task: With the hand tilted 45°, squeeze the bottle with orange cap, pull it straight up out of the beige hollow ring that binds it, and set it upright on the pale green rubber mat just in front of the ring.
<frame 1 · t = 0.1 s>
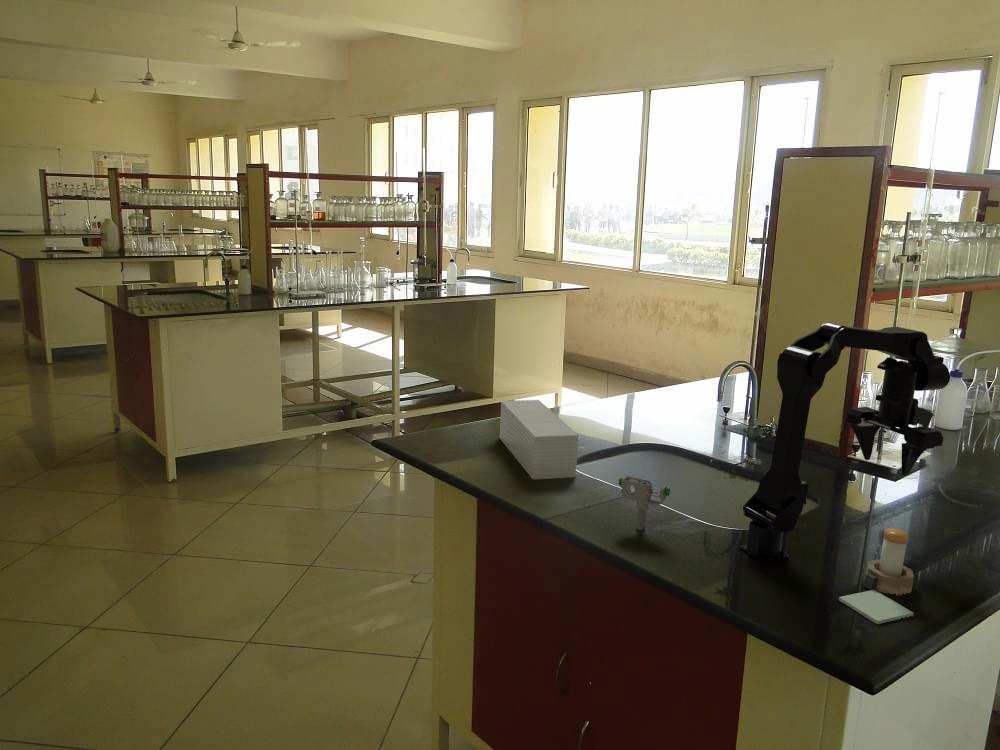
hand: (885, 467, 156), 15 cm above the counter, tool pointing down, fingers open, 9 cm apart
mechanical component: (640, 529, 157), on the counter
bottle with orange cap: (892, 558, 137), in the beige hollow ring
stack of papers: (534, 457, 199), on the counter
mat: (875, 608, 130), on the counter
beige hollow ring: (887, 584, 138), on the counter
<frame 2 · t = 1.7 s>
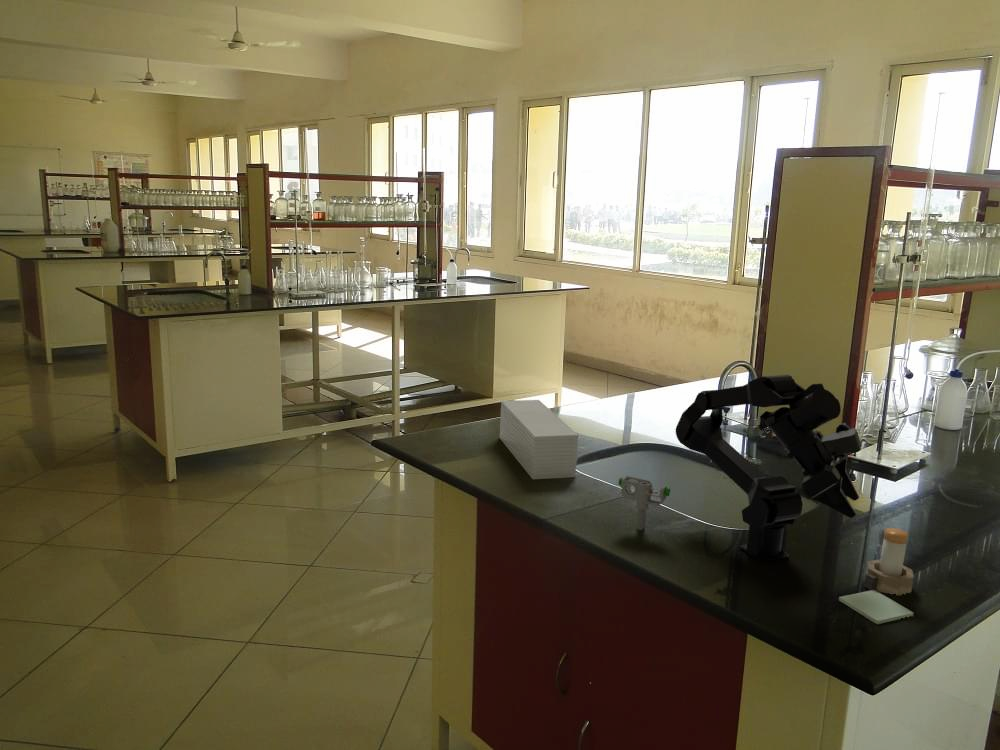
hand: (855, 507, 138), 13 cm above the counter, tool tilted 45°, fingers open, 9 cm apart
nothing on the counter moved.
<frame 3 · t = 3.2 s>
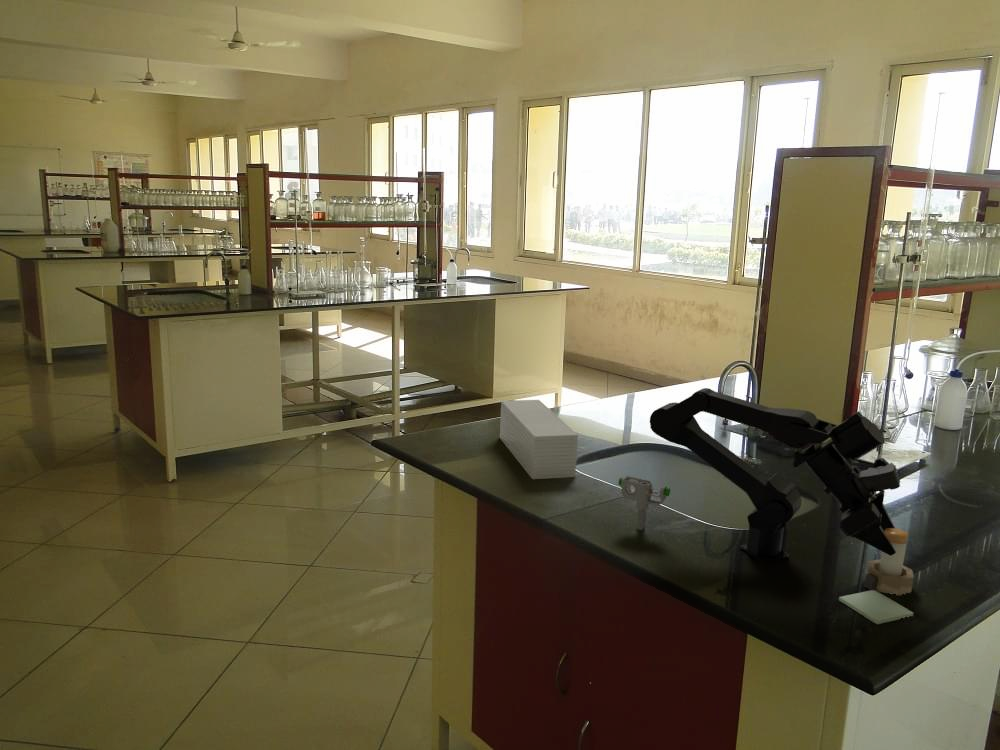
hand: (894, 544, 136), 8 cm above the counter, tool tilted 45°, fingers open, 9 cm apart
nothing on the counter moved.
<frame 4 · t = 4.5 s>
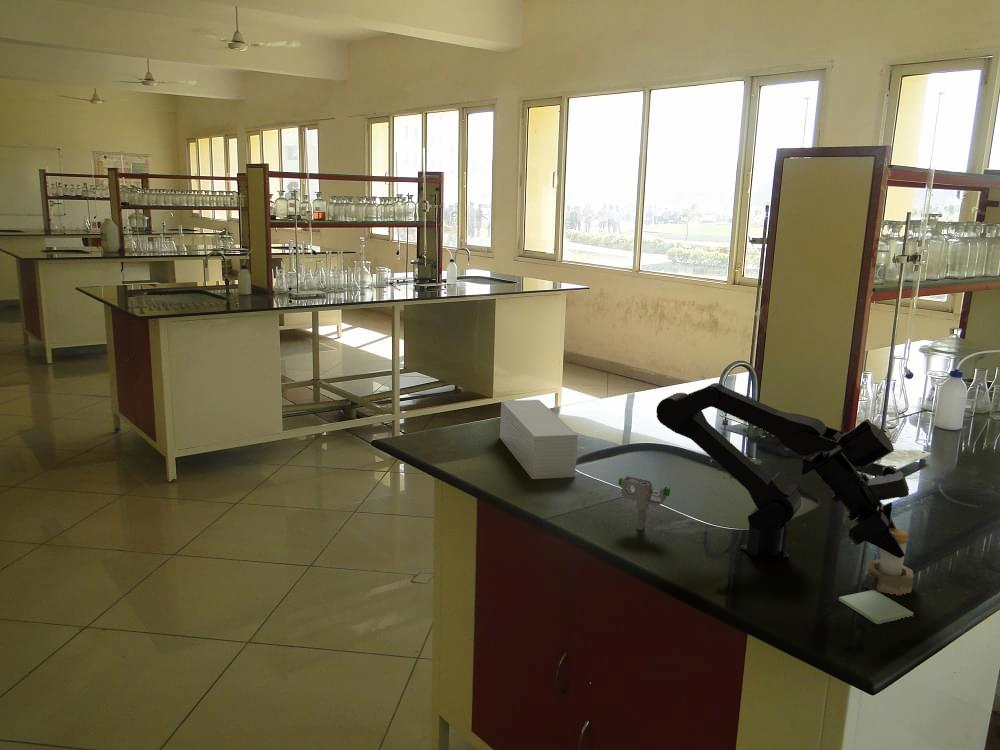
hand: (902, 552, 136), 7 cm above the counter, tool tilted 45°, fingers closed on bottle with orange cap, 4 cm apart
bottle with orange cap: (892, 558, 137), in the beige hollow ring, touching gripper
everything else where it was.
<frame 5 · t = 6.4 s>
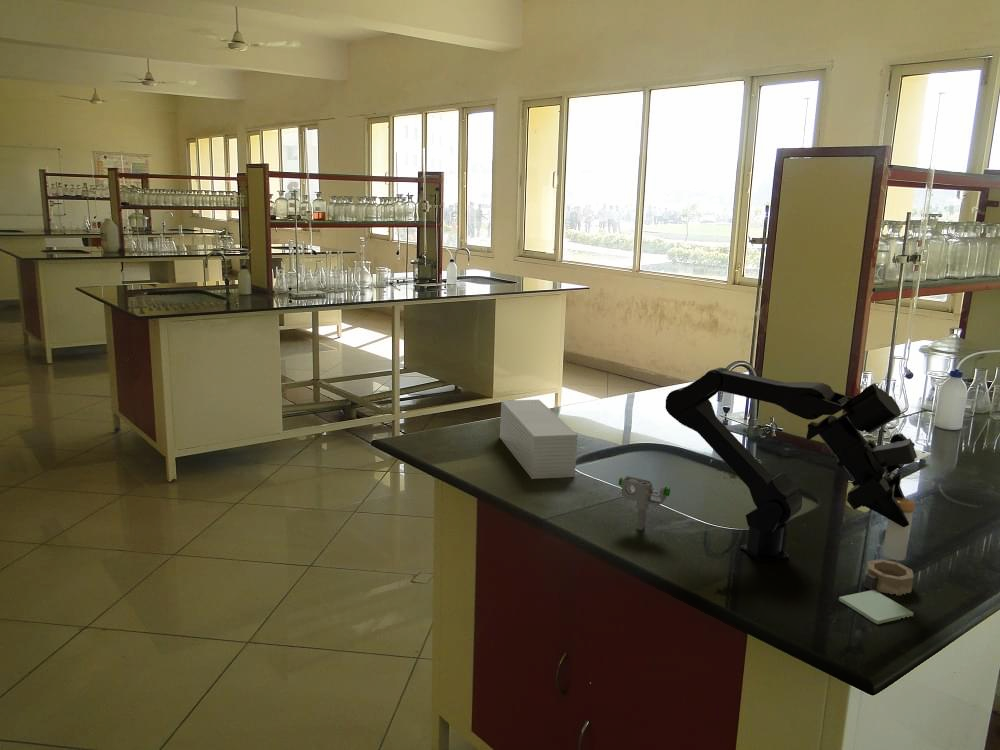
hand: (908, 522, 132), 13 cm above the counter, tool tilted 45°, fingers closed on bottle with orange cap, 4 cm apart
bottle with orange cap: (898, 528, 133), point 12 cm above the counter, touching gripper
everything else where it was.
when the fingers open (8 cm above the counter, at t = 8.4 s): bottle with orange cap drops 1 cm, resting on mat.
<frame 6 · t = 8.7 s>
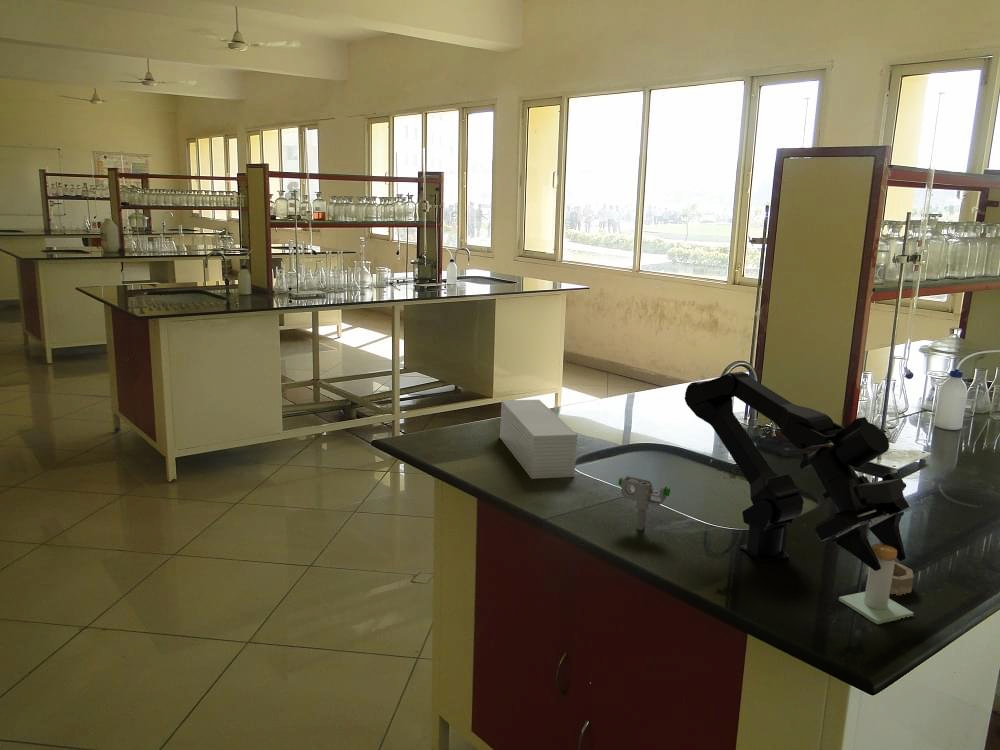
hand: (891, 565, 127), 8 cm above the counter, tool tilted 45°, fingers open, 7 cm apart
bottle with orange cap: (880, 576, 129), on the mat, point 6 cm above the counter
everything else where it was.
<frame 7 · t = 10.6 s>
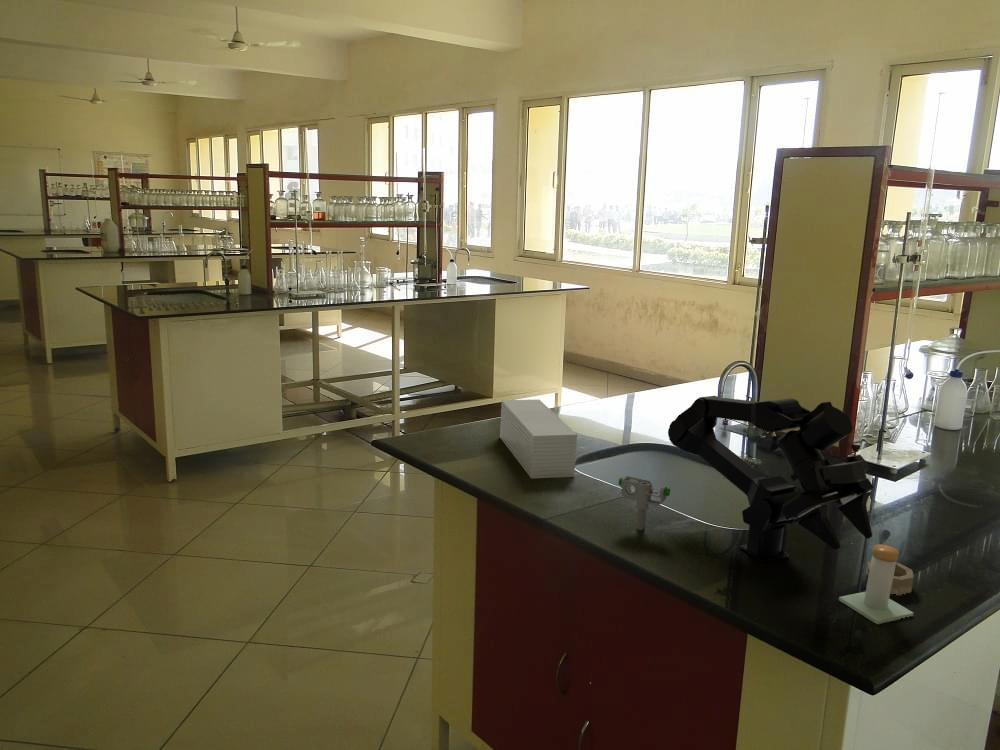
hand: (854, 543, 132), 9 cm above the counter, tool tilted 45°, fingers open, 9 cm apart
nothing on the counter moved.
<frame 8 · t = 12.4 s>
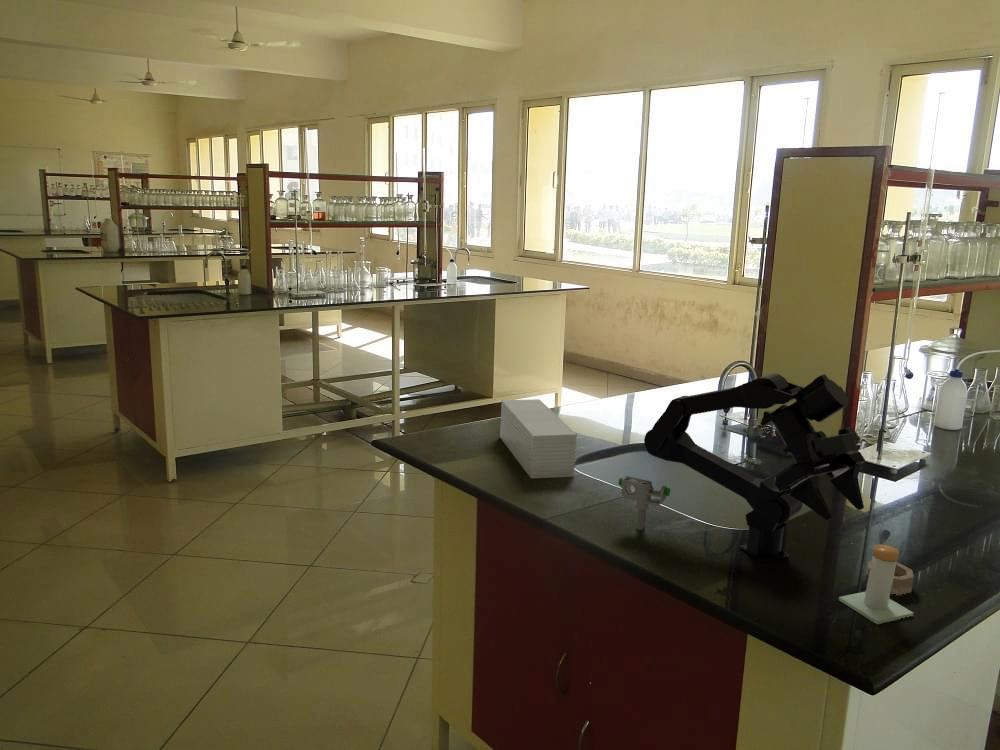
hand: (845, 514, 134), 14 cm above the counter, tool tilted 45°, fingers open, 9 cm apart
nothing on the counter moved.
at the end: bottle with orange cap 0.1 cm off-centre on the mat, point 5.6 cm above the mat's base; bottle with orange cap tilted 1°; the gripper is holding nothing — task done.
